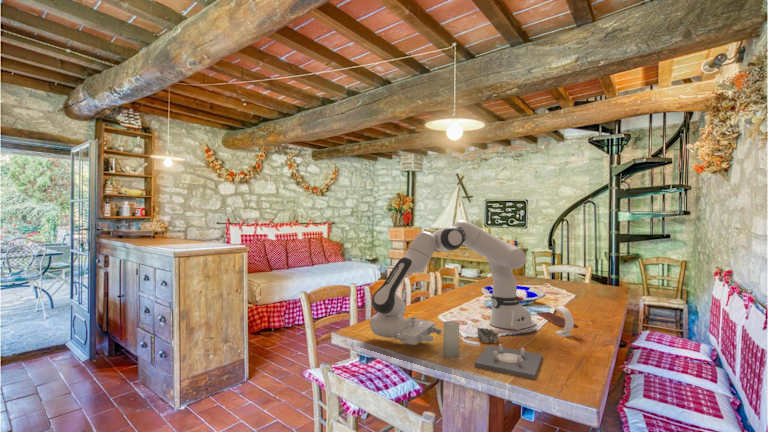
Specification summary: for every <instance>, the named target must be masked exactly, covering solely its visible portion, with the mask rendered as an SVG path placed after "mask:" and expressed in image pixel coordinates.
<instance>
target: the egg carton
mask: <svg viewBox="0 0 768 432" xmlns="http://www.w3.org/2000/svg"><path fill="white" fill-rule="evenodd" d="M490 336H491V337H490ZM477 337H479V339H480V340H481V342H482V343H486V344H489V343H494V344H497V343H498V342H499V333H498V332H496V331H494V330H493V329H492V328H490V329H488V328H483V327H477Z"/></svg>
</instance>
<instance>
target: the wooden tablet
mask: <svg viewBox="0 0 768 432" xmlns="http://www.w3.org/2000/svg"><path fill="white" fill-rule="evenodd" d="M536 315H538V316H539V317H541V318H543V319H545V320H546V321H548V322H551V324H553V325H555V326H556V327H558V328H562V329H564V327H565V319H564V317H563V316H559V315H557V314H554V313H552V312H550V311H542V312H536ZM573 328H574V329H575V328H579V325H577V324H576V323H574V326H573Z"/></svg>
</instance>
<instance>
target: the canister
mask: <svg viewBox="0 0 768 432" xmlns="http://www.w3.org/2000/svg"><path fill="white" fill-rule="evenodd" d="M442 325H443V330H442V334H443V335H442V336H443V337H442V341H443V342H442V343H443V349H442V350H443V356H445V357H447V358H451V359H452V358H458V357H459V356H460V322H457V321H455V320H454V321H453V320H452V321H451V320H447V321H444V322H443V323H442Z"/></svg>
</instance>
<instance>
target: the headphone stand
mask: <svg viewBox="0 0 768 432" xmlns="http://www.w3.org/2000/svg"><path fill="white" fill-rule="evenodd" d="M554 309H555V310H557V311H558V312H559V313H560V314H561V315H562V318H564V319H565V327H564V328H562V329H563V330H557V331H555V332H554V333H555V335H558V336H560V337H563V338H567V337H570V336H572V335H573V334H572V333H571V331H572V330H573V326H574V324H575V321H574V316H573V314H572V313H571V312H570V310H569V309H568V308H566V307H565V306H563V305H561V306H555V307H554Z"/></svg>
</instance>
